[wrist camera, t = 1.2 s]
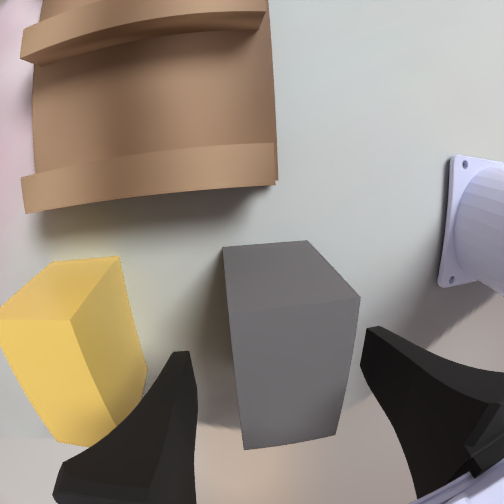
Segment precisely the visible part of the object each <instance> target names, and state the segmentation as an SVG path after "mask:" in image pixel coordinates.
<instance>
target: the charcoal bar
mask: <svg viewBox="0 0 504 504" xmlns="http://www.w3.org/2000/svg"><path fill="white" fill-rule="evenodd" d="M223 258H224V270H225V281H226V292H227V303H228V314H229V324H230V334H231V344H232V354H233V363H234V372H235V381H236V390H237V399H238V407H239V415H240V423H241V431H242V439H243V447H244V450H250V449H258V448H266V447H273V446H281V445H287V444H293V443H298V442H304V441H309V440H314V439H319V438H324V437H328V436H333V435H335V434H336V430H337V426H338V421H339V418H340V413H341V409H342V405H343V400H344V395H345V391H346V386H347V381H348V376H349V370H350V365H351V359H352V353H353V347H354V341H355V335H356V328H357V321H358V314H359V306H360V298H361V297H360V296H359V295H358V294H357V293H356V292H355V290H354V289H353V288H352V287H351V286H350V285H349V284H348V283H347V282H346V281H345V280H344V279H343V278H342V276H341V275H340V274H339V273H338V272H337V271H336V270H335V269H334V268H333V267H332V266H331V265H330V264H329V263H328V262H327V260H326V259H325V258H324V257H323V256H322V255H321V254H320V253H319V252H318V251H317V250H316V249H315V248H314V247H313V246H312V245H311V244H310V243H309V242H308V241H307V240H306V241H293V242H280V243H267V244H255V245H242V246H230V247H223Z"/></svg>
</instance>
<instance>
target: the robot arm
mask: <svg viewBox="0 0 504 504" xmlns="http://www.w3.org/2000/svg"><path fill="white" fill-rule="evenodd" d="M462 163H463V164H464V165H463V166H462ZM449 279H450V280H449ZM474 281H480V282H482V283H484V284H485V285H487V286H488V287H490V288H491V289H493V290H495V291H496V292H498V293H499V294H501V295H502V296H504V163H503V162H498V161H492V160H487V159H481V158H475V157H469V156H462V155H453V156H452V157H451V159H450V176H449V195H448V208H447V219H446V228H445V236H444V244H443V251H442V257H441V263H440V269H439V275H438V282H437V283H438V285H439V286H441V287H442V288H447V287H452V286H457V285H461V284H466V283H470V282H474ZM360 367H361V370H362V372H363V375H364V377H365V379H366V382H367V384H368V386H369V387H370V389H371V391H372V392H373V394H374V396H375V397H376V399H377V401H378V402H379V404H380V405H381V407H382V409H383V410H384V412H385V414H386V415H387V417H388V419H389V420H390V422H391V424H392V426H393V427H394V430H395V432H396V434H397V437H398V439H399V441H400V444H401V446H402V449H403V452H404V454H405V457H406V460H407V463H408V466H409V469H410V472H411V475H412V479H413V483H414V487H415V490H416V495H417V500H415V501H413V502H411V503H409V504H504V373H503V372H494V371H487V370H482V369H477V368H473V367H469V366H465V365H462V364H459V363H456V362H453V361H450V360H447V359H445V358H442V357H440V356H438V355H435V354H433V353H431V352H429V351H427V350H425V349H423V348H421V347H419V346H417V345H415V344H413V343H411V342H409V341H407V340H406V339H404V338H402V337H400V336H398V335H396V334H395V333H393V332H391V331H389V330H387V329H385V328H383V327H381V326H376V327H371V328H367V329H366V335H365V341H364V347H363V352H362V357H361V362H360ZM197 414H198V400H197V386H196V382H195V377H194V372H193V368H192V363H191V358H190V353H189V351H180V352H173V353H172V354H171V356H170V358H169V359H168V361H167V363H166V365H165V366H164V368H163V370H162V371H161V373H160V375H159V376H158V378H157V379H156V381H155V382H154V384H153V385H152V387H151V388H150V389H149V391H148V392H147V393H146V395H145V396H144V397H143V399H142V400H141V401H140V402H139V404H138V405H137V406H136V407H135V408H134V410H133V411H132V412H131V413H130V414H129V415H128V416H127V417H126V418H125V419H124V420H123V421H122V422H121V423H120V424H119V425H118V426H117V427H116V428H115V429H113V430H112V431H111V432H110V433H109V434H108V435H106V436H105V437H104V438H102V439H101V440H100V441H98V442H97V443H95V444H94V445H93V446H91V447H90V448H88V449H86V450H85V451H83V452H82V453H80V454H78V455H76V456H74V457H72V458H71V459H69V460H67V461H65V462H63V464H62V466H61V468H60V470H59V473H58V476H57V480H56V484H55V487H54V491H53V494H52V495H53V498H54V500H55V501H56V502H57V503H58V504H196V492H195V476H194V450H195V438H196V426H197Z"/></svg>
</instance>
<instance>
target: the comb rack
mask: <svg viewBox="0 0 504 504" xmlns="http://www.w3.org/2000/svg"><path fill="white" fill-rule="evenodd" d="M20 59H22V60H25V61H28V62H30V63H33V64H34V74H33V98H32V121H33V146H34V160H35V171H36V174H33V175H29V176H25V177H22V178H21V186H22V194H23V201H24V207H25V213H26V214H28V213H34V212H39V211H45V210H50V209H56V208H62V207H68V206H74V205H80V204H87V203H94V202H100V201H108V200H115V199H122V198H130V197H138V196H147V195H156V194H165V193H175V192H185V191H196V190H207V189H220V188H234V187H249V186H266V185H275V180H278V160H277V136H276V114H275V95H274V77H273V61H272V46H271V32H270V18H269V6H268V0H43V4H42V9H41V15H40V21H39V23H36V24H34V25H32V26H30V27H27V28H25V29H24V31H23V37H22V44H21V52H20Z"/></svg>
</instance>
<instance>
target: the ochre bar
mask: <svg viewBox="0 0 504 504" xmlns="http://www.w3.org/2000/svg"><path fill="white" fill-rule="evenodd" d="M0 346H1V348H2V350H3V352H4V354H5V356H6V358H7V360H8V362H9V364H10V366H11V368H12V370H13V372H14V374H15V376H16V378H17V380H18V381H19V383H20V385H21V387H22V389H23V390H24V392H25V394H26V395H27V397H28V399H29V400H30V402H31V404H32V405H33V407H34V409H35V410H36V412H37V413H38V415H39V416H40V418H41V419H42V421H43V422H44V424H45V425H46V427H47V428H48V430H49V431H50V432H51V434H52V435H53V437H54V438H55V439H56V441H57V442H61V443H66V444H72V445H78V446H85V447H91V446H93V445H94V444H95V443H97V442H98V441H100V440H101V439H102V438H104V437H105V436H106V435H108V434H109V433H110V432H111V431H112V430H113V429H115V428H116V427H117V426H118V425H119V424H120V423H121V422H122V421H123V420H124V419H125V418H126V417H127V416H128V415H129V414H130V413H131V412H132V411H133V410H134V408H135V407H136V406H137V405H138V404H139V402H140V401H141V398H142V393H143V389H144V384H145V380H146V376H147V372H148V369H147V366H146V362H145V359H144V356H143V352H142V349H141V346H140V342H139V338H138V335H137V331H136V327H135V324H134V320H133V316H132V312H131V308H130V304H129V299H128V295H127V291H126V286H125V282H124V277H123V272H122V267H121V262H120V257H119V256H112V257H101V258H90V259H79V260H68V261H57V262H52V263H50V264H49V265H48V266H47V267H46V268H44V269H43V270H42V271H41V272H40V273H38V274H37V275H36V276H35V277H34V278H33V279H31V280H30V281H29V282H28V283H27V284H26V285H25V286H23V287H22V288H21V289H20V290H19V291H18V292H17V293H16V294H14V295H13V296H12V297H11V298H10V299H9V300H8V301H7V302H6V303H5V304H4V305H3V306H2V307H0Z"/></svg>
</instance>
